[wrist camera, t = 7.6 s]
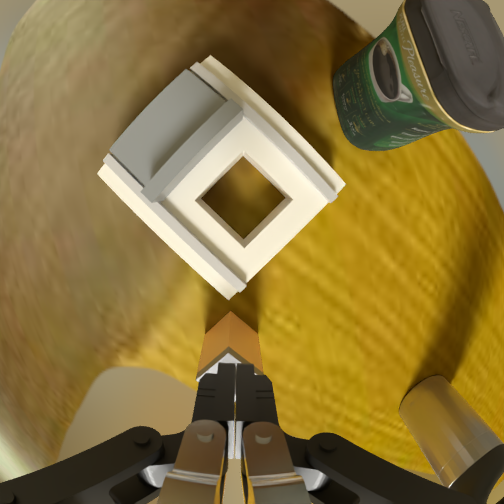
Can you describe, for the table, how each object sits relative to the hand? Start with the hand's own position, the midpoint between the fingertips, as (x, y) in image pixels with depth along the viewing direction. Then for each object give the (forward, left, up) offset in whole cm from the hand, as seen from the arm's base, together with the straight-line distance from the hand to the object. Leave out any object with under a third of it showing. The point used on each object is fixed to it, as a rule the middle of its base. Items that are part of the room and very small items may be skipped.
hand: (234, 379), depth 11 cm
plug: (-5, +6, -17) cm, 18 cm away
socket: (+7, -5, -17) cm, 19 cm away
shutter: (+12, -5, -13) cm, 18 cm away
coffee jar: (+2, -21, -17) cm, 27 cm away
